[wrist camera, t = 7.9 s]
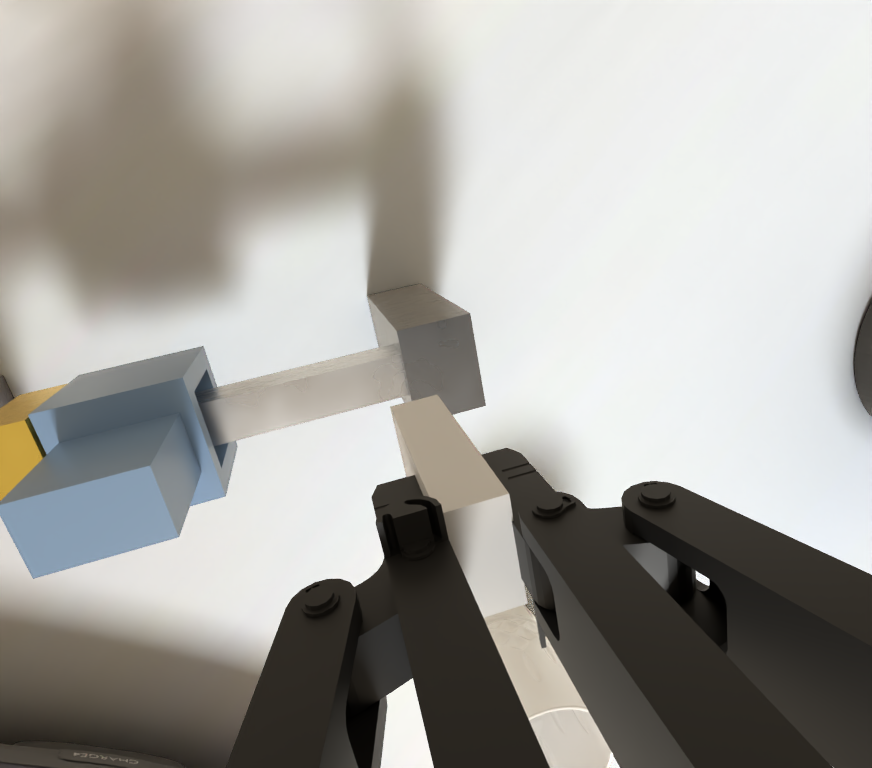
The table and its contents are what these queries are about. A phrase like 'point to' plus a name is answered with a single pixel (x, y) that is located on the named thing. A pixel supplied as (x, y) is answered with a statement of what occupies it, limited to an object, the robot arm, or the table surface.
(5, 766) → the bluetooth speaker
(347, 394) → the rail
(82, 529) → the sleeve
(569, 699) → the white cup
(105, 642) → the table surface
